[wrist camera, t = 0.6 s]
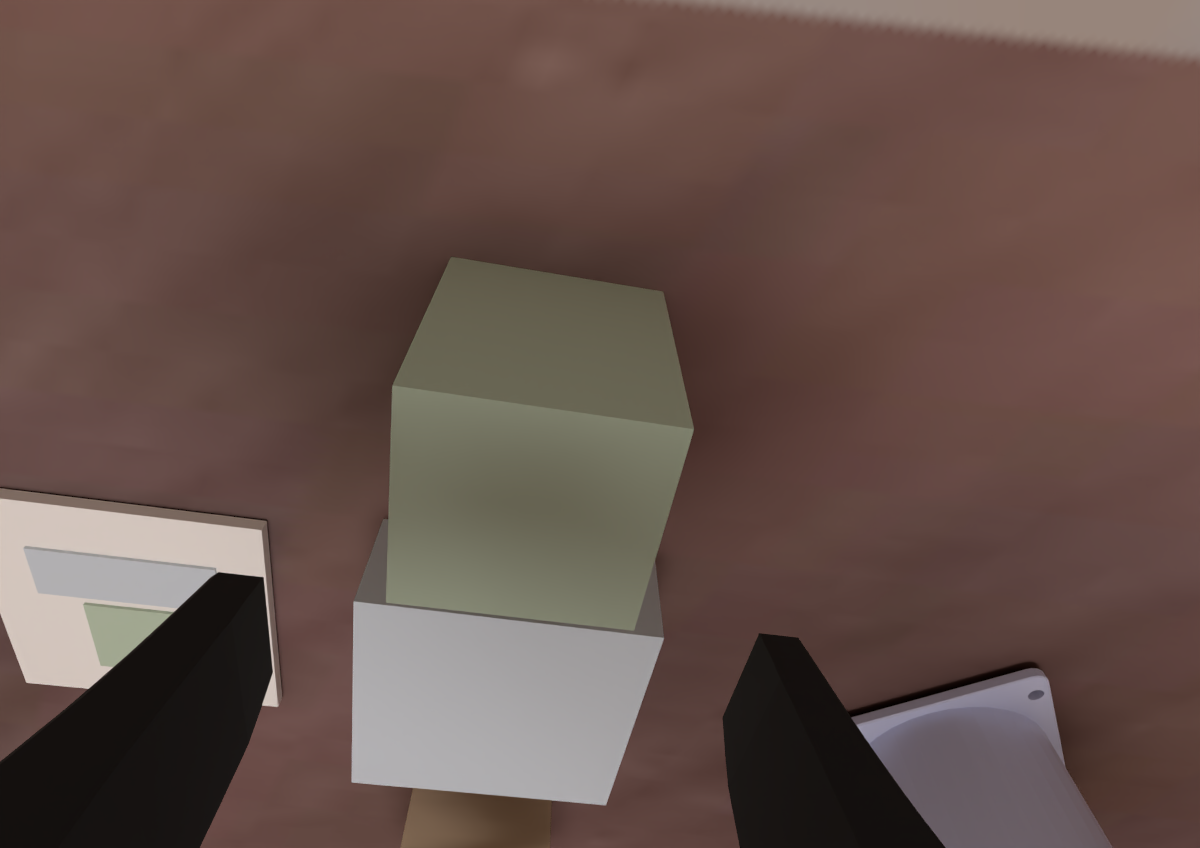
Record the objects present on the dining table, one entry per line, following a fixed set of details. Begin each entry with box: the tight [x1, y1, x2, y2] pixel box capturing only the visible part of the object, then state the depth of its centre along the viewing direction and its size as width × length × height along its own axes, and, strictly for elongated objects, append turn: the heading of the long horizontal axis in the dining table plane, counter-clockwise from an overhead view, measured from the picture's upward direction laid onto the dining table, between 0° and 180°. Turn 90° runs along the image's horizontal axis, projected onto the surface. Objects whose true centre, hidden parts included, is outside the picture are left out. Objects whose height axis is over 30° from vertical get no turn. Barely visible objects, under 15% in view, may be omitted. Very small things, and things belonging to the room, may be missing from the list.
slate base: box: [352, 519, 664, 805], centre depth 22 cm, size 8×8×4 cm
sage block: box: [386, 257, 694, 631], centre depth 16 cm, size 5×5×6 cm
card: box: [0, 488, 282, 707], centre depth 22 cm, size 8×8×1 cm
